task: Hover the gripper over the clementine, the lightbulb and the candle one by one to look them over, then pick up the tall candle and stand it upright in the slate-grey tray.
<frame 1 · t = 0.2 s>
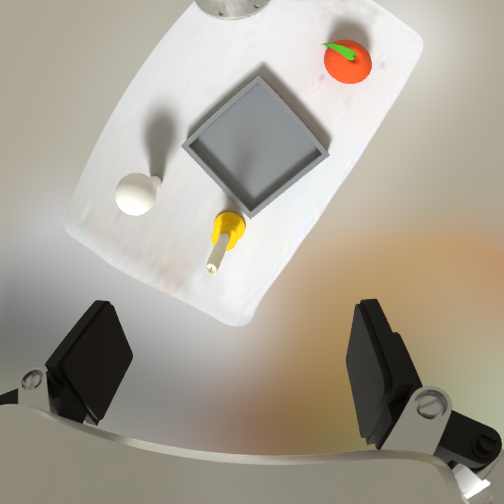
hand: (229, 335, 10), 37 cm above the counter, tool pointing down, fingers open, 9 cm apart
lightbulb: (156, 182, 46), on the counter
clementine: (339, 64, 35), on the counter
tray: (255, 146, 42), on the counter
candle: (229, 226, 48), on the counter
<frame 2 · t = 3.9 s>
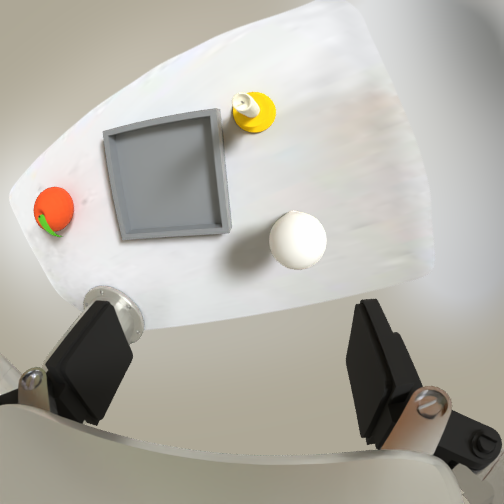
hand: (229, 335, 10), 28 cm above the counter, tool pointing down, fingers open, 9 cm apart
lightbulb: (293, 217, 38), on the counter
clementine: (68, 205, 39), on the counter
tray: (168, 175, 36), on the counter
candle: (254, 112, 32), on the counter
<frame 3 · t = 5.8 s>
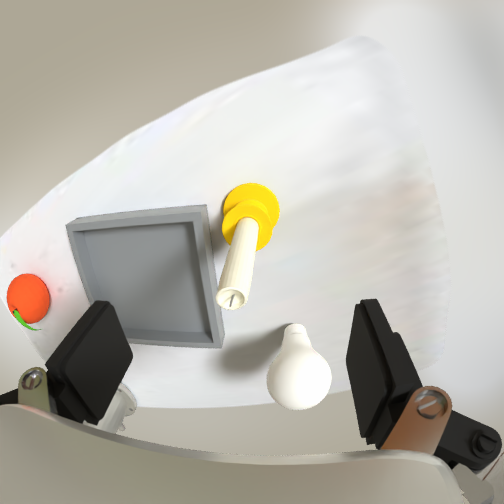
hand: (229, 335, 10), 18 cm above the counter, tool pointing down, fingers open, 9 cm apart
lightbulb: (294, 326, 32), on the counter
clementine: (44, 288, 33), on the counter
tray: (148, 278, 31), on the counter
candle: (251, 209, 27), on the counter
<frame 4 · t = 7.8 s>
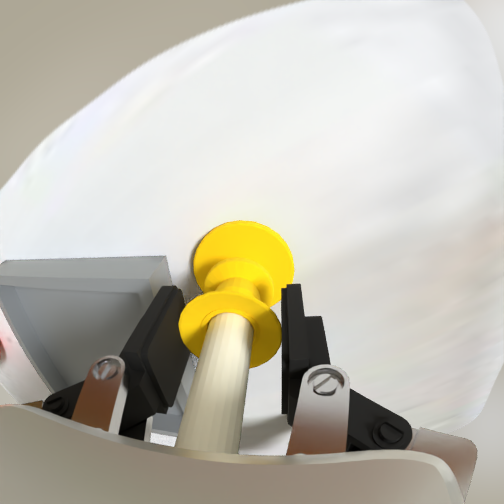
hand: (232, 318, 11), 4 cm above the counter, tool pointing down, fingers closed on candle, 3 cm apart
tray: (99, 348, 19), on the counter
candle: (244, 265, 15), on the counter, touching gripper
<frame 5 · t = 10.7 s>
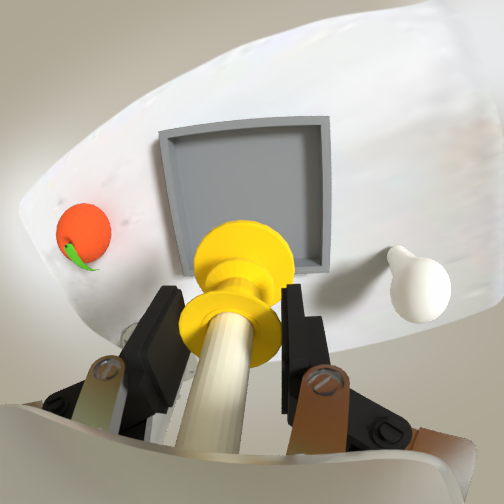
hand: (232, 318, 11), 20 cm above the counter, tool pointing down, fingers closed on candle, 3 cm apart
lightbulb: (393, 251, 30), on the counter
clementine: (101, 225, 32), on the counter
tray: (250, 195, 29), on the counter
candle: (244, 265, 15), point 15 cm above the counter, touching gripper
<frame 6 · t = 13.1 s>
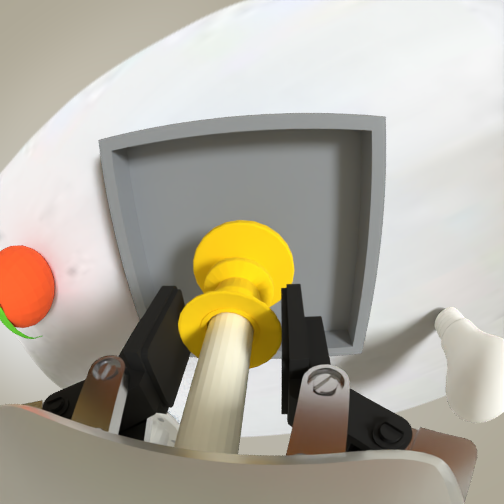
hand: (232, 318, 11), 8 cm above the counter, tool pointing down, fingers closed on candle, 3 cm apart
lightbulb: (441, 312, 20), on the counter
clementine: (45, 271, 21), on the counter
tray: (247, 242, 18), on the counter
candle: (244, 265, 15), point 3 cm above the counter, touching gripper
when the fingers open (6 cm above the counter, at t = 13.9 s): candle drops 1 cm, resting on tray.
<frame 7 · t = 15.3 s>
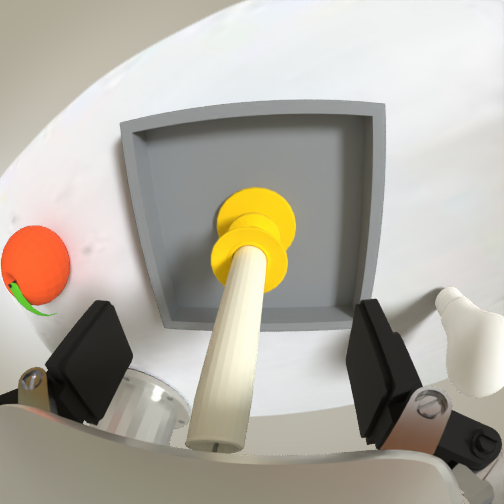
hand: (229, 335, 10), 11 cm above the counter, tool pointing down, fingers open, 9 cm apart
lightbulb: (442, 292, 21), on the counter
clementine: (60, 251, 23), on the counter
tray: (258, 219, 20), on the counter
candle: (256, 223, 19), resting on tray
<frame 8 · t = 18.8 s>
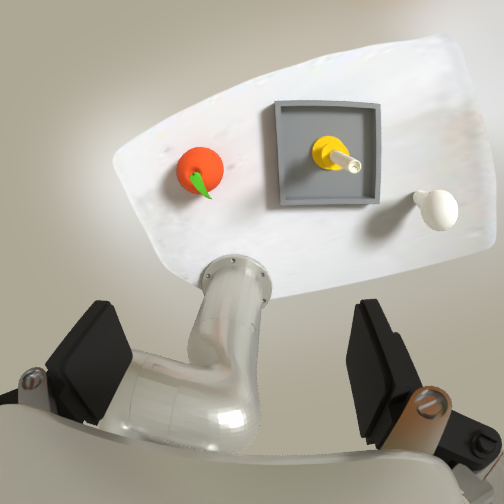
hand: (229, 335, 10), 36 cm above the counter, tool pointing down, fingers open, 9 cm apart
lightbulb: (416, 195, 42), on the counter
clementine: (207, 169, 44), on the counter
tray: (328, 151, 41), on the counter
candle: (328, 152, 41), resting on tray
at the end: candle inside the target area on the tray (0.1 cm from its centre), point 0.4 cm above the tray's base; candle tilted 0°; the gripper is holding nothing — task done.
